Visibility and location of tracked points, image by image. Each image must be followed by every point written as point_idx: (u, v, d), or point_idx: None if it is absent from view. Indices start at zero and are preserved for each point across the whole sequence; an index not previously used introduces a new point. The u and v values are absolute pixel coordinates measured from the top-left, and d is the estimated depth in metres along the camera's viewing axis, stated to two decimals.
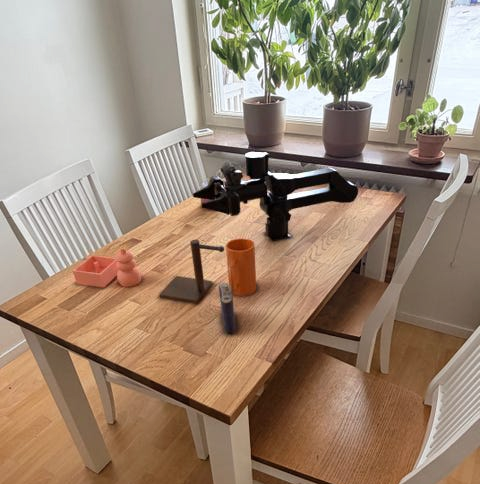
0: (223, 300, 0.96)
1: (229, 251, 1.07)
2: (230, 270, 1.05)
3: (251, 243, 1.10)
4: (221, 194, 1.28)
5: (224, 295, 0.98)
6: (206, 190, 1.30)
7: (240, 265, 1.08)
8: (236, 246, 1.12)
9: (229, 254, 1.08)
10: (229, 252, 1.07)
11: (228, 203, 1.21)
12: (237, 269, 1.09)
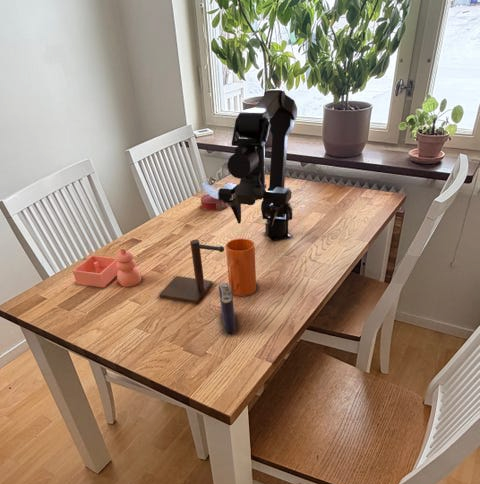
0: (223, 300, 0.96)
1: (229, 251, 1.07)
2: (230, 270, 1.05)
3: (251, 243, 1.10)
4: None
5: (224, 295, 0.98)
6: (237, 208, 1.17)
7: (240, 265, 1.08)
8: (236, 246, 1.12)
9: (229, 254, 1.08)
10: (229, 252, 1.07)
11: None
12: (237, 269, 1.09)
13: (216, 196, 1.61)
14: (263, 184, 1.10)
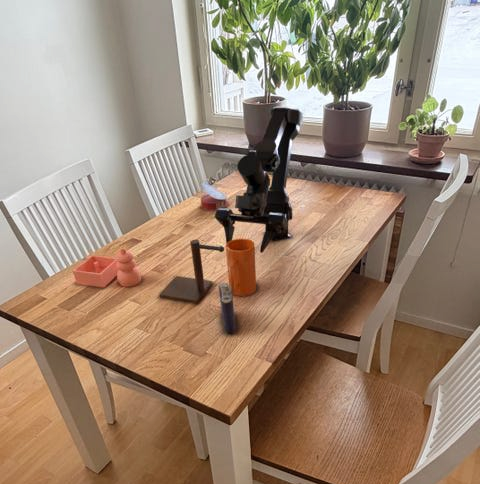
0: (223, 300, 0.96)
1: (229, 251, 1.07)
2: (230, 270, 1.05)
3: (251, 243, 1.10)
4: (246, 221, 1.14)
5: (224, 295, 0.98)
6: (230, 231, 1.14)
7: (240, 265, 1.08)
8: (236, 246, 1.12)
9: (229, 254, 1.08)
10: (229, 252, 1.07)
11: (278, 227, 1.11)
12: (237, 269, 1.09)
13: (216, 196, 1.61)
14: (262, 209, 1.13)
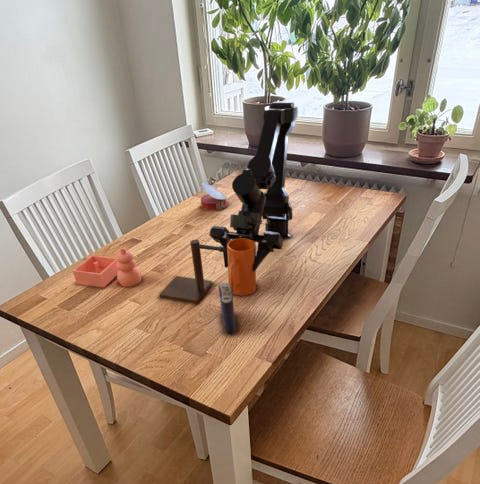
0: (223, 300, 0.96)
1: (230, 251, 1.07)
2: (230, 270, 1.05)
3: (252, 243, 1.10)
4: None
5: (224, 295, 0.98)
6: None
7: (240, 265, 1.08)
8: (237, 245, 1.12)
9: (230, 254, 1.08)
10: (230, 252, 1.07)
11: (271, 245, 1.09)
12: (237, 269, 1.09)
13: (216, 196, 1.61)
14: (258, 227, 1.11)
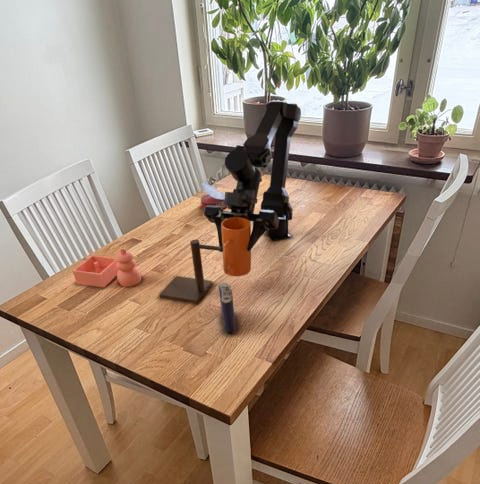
0: (223, 300, 0.96)
1: (224, 230, 1.04)
2: (224, 249, 1.02)
3: (247, 222, 1.07)
4: None
5: (224, 295, 0.98)
6: None
7: (234, 245, 1.05)
8: (231, 225, 1.09)
9: (224, 233, 1.05)
10: (224, 231, 1.04)
11: (266, 224, 1.07)
12: (232, 249, 1.06)
13: (216, 196, 1.61)
14: (253, 206, 1.08)
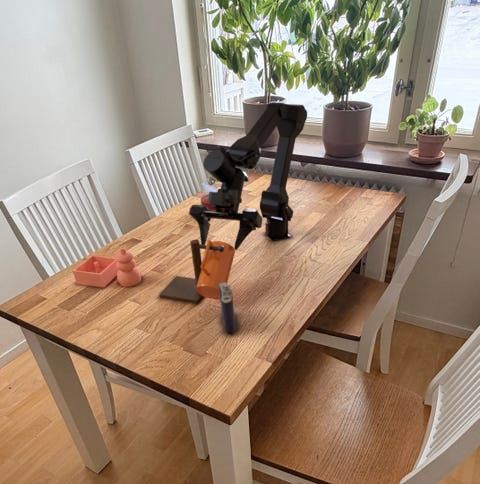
0: (223, 300, 0.96)
1: None
2: (208, 243, 1.05)
3: None
4: (221, 218, 1.13)
5: (224, 295, 0.98)
6: (204, 228, 1.13)
7: (217, 254, 1.08)
8: None
9: None
10: None
11: (252, 224, 1.09)
12: (213, 258, 1.08)
13: None
14: (237, 205, 1.11)
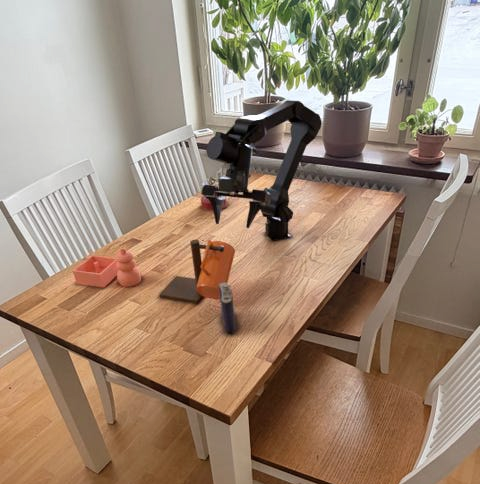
0: (223, 300, 0.96)
1: None
2: (208, 243, 1.05)
3: None
4: (232, 196, 1.19)
5: (224, 295, 0.98)
6: (217, 207, 1.20)
7: (217, 254, 1.08)
8: None
9: None
10: None
11: (262, 203, 1.16)
12: (213, 258, 1.08)
13: None
14: (246, 184, 1.17)
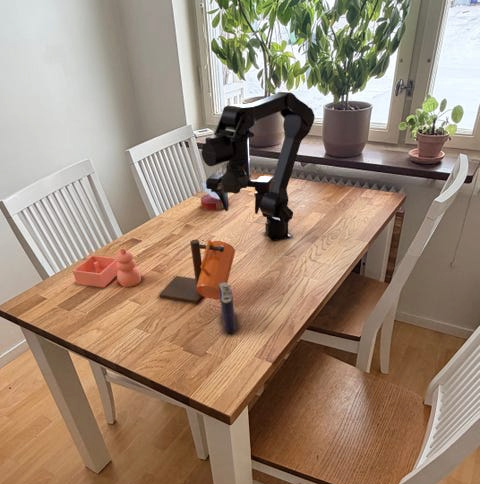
0: (223, 300, 0.96)
1: None
2: (208, 243, 1.05)
3: None
4: None
5: (224, 295, 0.98)
6: (224, 197, 1.24)
7: (217, 254, 1.08)
8: None
9: None
10: None
11: None
12: (213, 258, 1.08)
13: (216, 196, 1.61)
14: (248, 174, 1.18)
